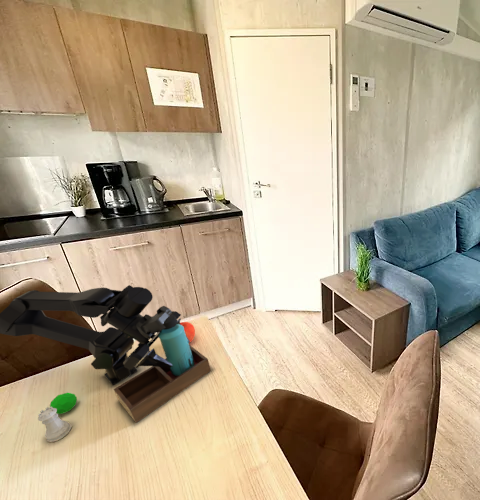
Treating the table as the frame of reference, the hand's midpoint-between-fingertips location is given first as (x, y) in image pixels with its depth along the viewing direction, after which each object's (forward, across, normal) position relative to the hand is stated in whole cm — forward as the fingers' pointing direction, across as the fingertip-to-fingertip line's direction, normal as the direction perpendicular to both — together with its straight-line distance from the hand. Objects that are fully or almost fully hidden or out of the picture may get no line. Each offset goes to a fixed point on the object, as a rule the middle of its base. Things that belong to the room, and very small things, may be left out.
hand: (180, 354), depth 83 cm
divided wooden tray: (+3, -4, +8) cm, 10 cm away
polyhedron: (-12, -12, +24) cm, 29 cm away
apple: (0, +14, +12) cm, 18 cm away
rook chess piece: (-9, -18, +21) cm, 30 cm away
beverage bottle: (+5, 0, +6) cm, 8 cm away
